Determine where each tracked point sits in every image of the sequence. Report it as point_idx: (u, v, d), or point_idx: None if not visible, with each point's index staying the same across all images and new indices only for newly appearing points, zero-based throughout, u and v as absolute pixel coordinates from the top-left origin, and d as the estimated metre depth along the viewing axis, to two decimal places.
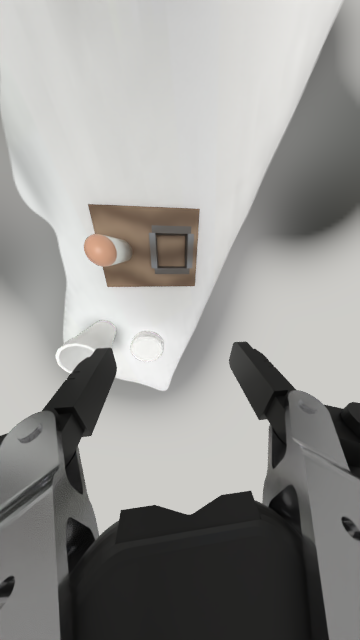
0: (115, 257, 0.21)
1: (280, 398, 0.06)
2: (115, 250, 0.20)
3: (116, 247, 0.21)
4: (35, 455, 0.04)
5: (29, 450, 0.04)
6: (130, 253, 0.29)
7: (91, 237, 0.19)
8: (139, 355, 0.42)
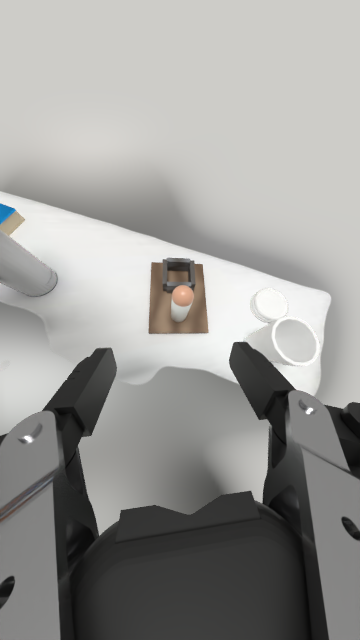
0: None
1: (280, 398, 0.06)
2: None
3: None
4: (35, 455, 0.04)
5: (29, 450, 0.04)
6: None
7: (174, 295, 0.25)
8: (281, 311, 0.38)
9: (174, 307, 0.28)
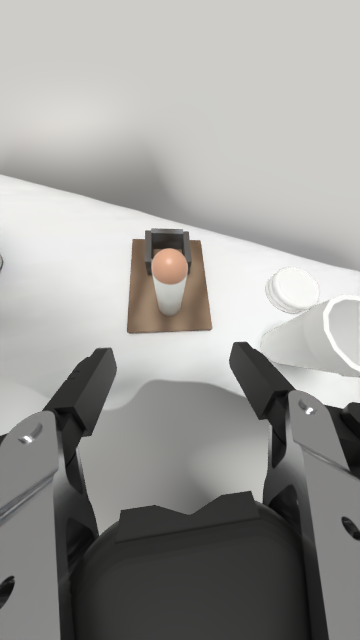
0: None
1: (280, 398, 0.06)
2: None
3: None
4: (35, 455, 0.04)
5: (29, 450, 0.04)
6: None
7: (154, 263, 0.15)
8: (311, 297, 0.28)
9: (158, 289, 0.18)
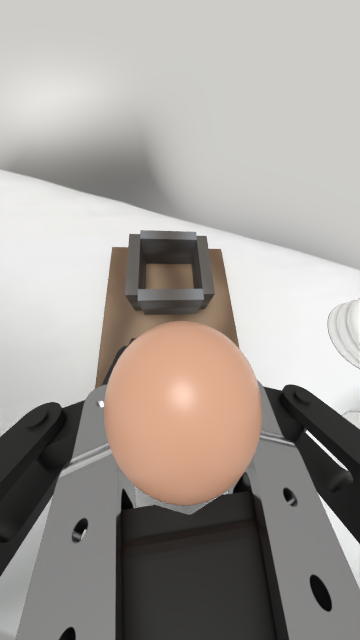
0: None
1: None
2: (175, 322, 0.05)
3: None
4: None
5: (101, 414, 0.05)
6: None
7: (108, 427, 0.03)
8: None
9: None
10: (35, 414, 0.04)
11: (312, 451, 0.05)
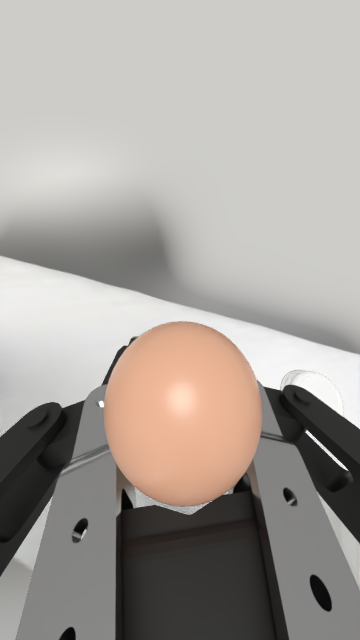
0: None
1: None
2: (175, 322, 0.05)
3: None
4: None
5: (101, 414, 0.05)
6: None
7: (108, 428, 0.03)
8: None
9: None
10: (35, 414, 0.04)
11: (312, 451, 0.05)
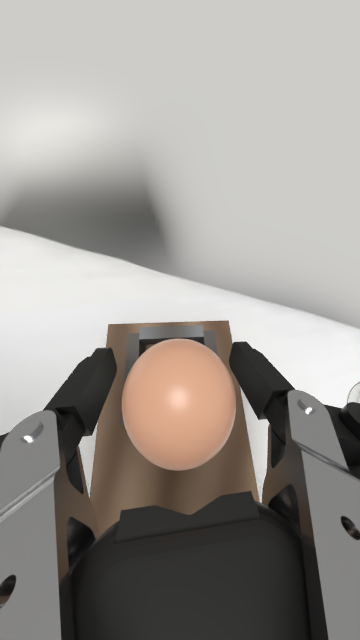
0: None
1: (279, 398, 0.06)
2: None
3: None
4: (36, 454, 0.04)
5: (30, 449, 0.04)
6: None
7: (127, 419, 0.04)
8: None
9: None
10: None
11: None
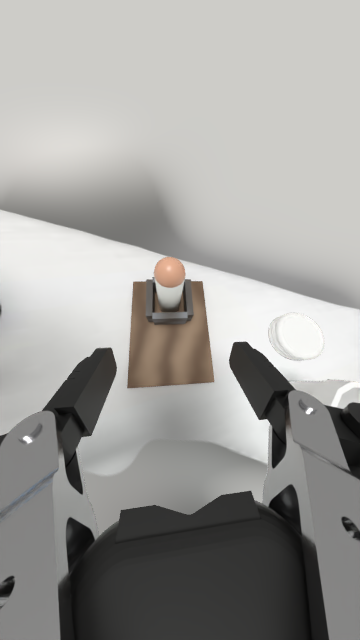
0: None
1: (280, 398, 0.06)
2: None
3: None
4: (35, 455, 0.04)
5: (29, 450, 0.04)
6: None
7: (157, 270, 0.18)
8: (315, 347, 0.27)
9: (159, 291, 0.20)
10: None
11: None
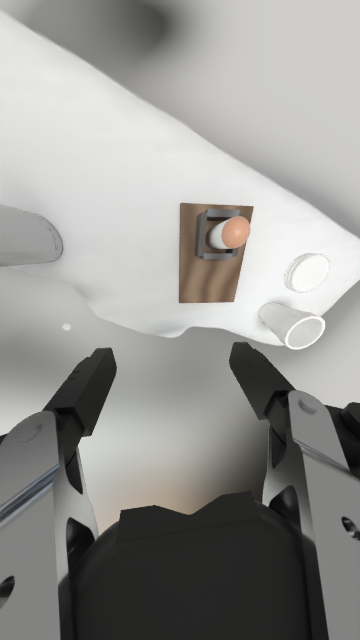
0: None
1: (280, 398, 0.06)
2: (238, 216, 0.20)
3: (232, 217, 0.21)
4: (35, 455, 0.04)
5: (29, 450, 0.04)
6: None
7: (227, 234, 0.21)
8: (313, 284, 0.37)
9: (219, 243, 0.24)
10: None
11: None
